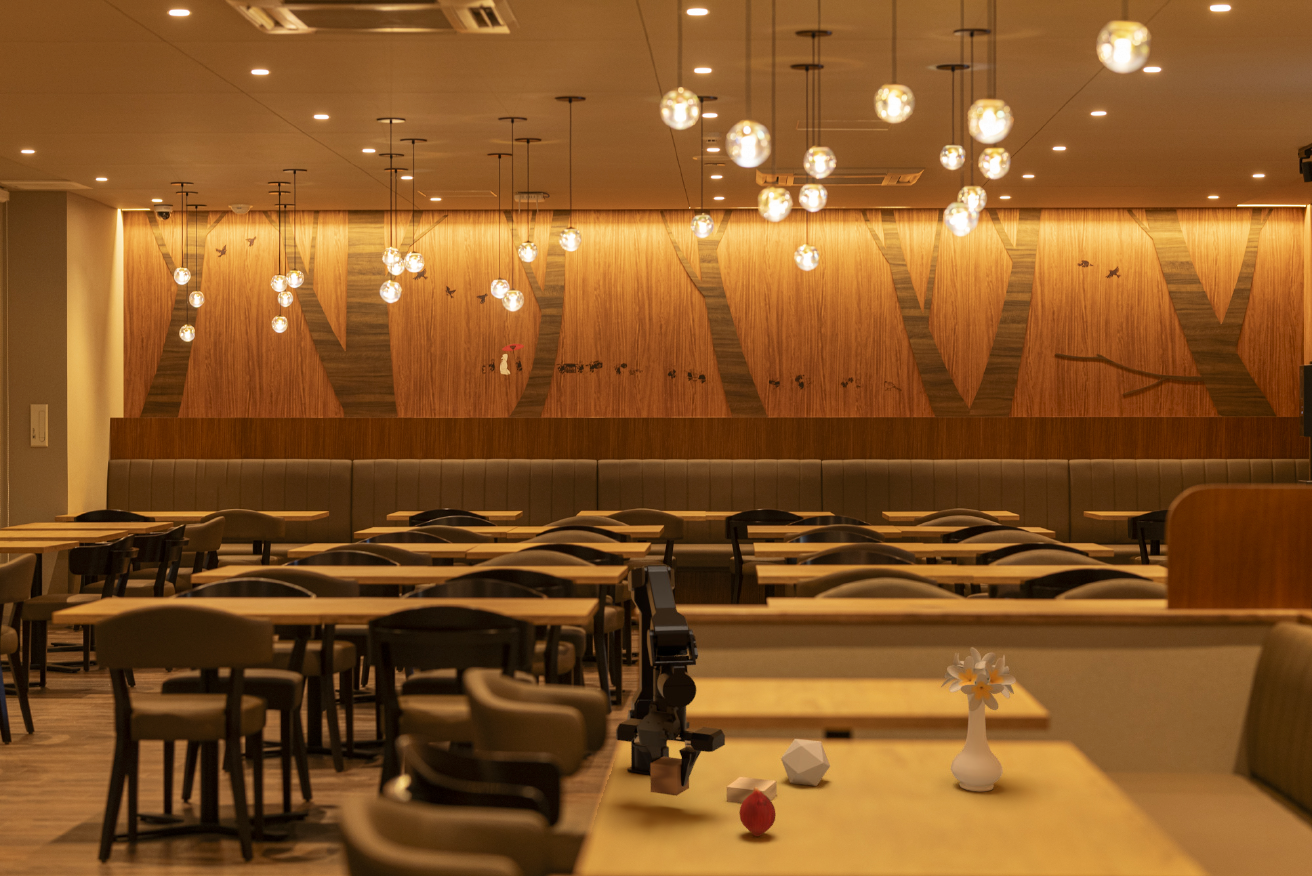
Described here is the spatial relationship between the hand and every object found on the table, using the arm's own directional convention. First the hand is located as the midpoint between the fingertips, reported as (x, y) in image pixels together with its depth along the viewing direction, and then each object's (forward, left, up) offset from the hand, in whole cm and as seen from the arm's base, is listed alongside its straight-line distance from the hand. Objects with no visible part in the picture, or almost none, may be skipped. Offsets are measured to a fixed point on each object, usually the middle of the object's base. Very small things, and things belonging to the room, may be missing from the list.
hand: (669, 783), depth 225 cm
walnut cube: (0, 0, -1) cm, 1 cm away
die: (+15, +27, -5) cm, 31 cm away
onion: (+19, -6, -5) cm, 20 cm away
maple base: (+10, +13, -5) cm, 17 cm away
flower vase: (+45, +38, -5) cm, 59 cm away
